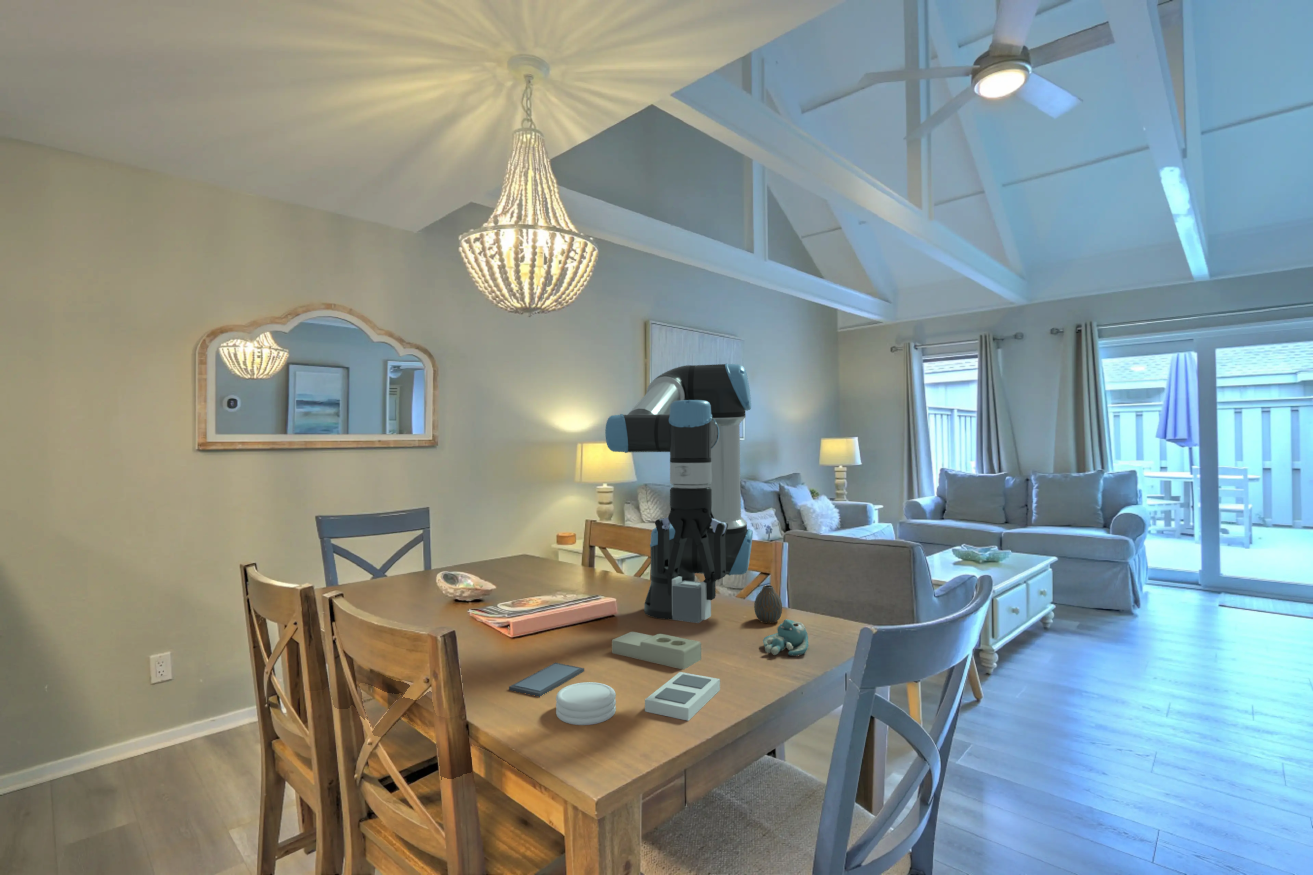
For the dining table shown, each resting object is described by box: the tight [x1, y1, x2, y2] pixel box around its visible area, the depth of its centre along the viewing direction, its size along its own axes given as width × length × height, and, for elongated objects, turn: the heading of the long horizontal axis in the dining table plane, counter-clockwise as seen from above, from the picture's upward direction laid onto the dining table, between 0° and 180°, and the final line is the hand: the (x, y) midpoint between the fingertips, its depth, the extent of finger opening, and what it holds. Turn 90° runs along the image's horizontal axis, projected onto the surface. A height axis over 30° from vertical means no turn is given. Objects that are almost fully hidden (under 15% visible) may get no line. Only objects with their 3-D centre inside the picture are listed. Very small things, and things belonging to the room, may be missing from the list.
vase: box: [753, 584, 783, 624], centre depth 158 cm, size 7×7×9 cm
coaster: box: [555, 681, 617, 726], centre depth 106 cm, size 10×10×4 cm
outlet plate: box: [644, 671, 721, 722], centre depth 110 cm, size 14×8×2 cm, turn 153°
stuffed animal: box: [762, 619, 810, 657], centre depth 136 cm, size 11×7×12 cm
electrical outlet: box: [611, 631, 702, 670], centre depth 133 cm, size 7×4×18 cm
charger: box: [671, 581, 704, 624], centre depth 113 cm, size 5×5×6 cm
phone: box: [508, 662, 585, 698], centre depth 120 cm, size 14×7×1 cm, turn 152°
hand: (691, 615), depth 113 cm, fingers closed on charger, 5 cm apart
